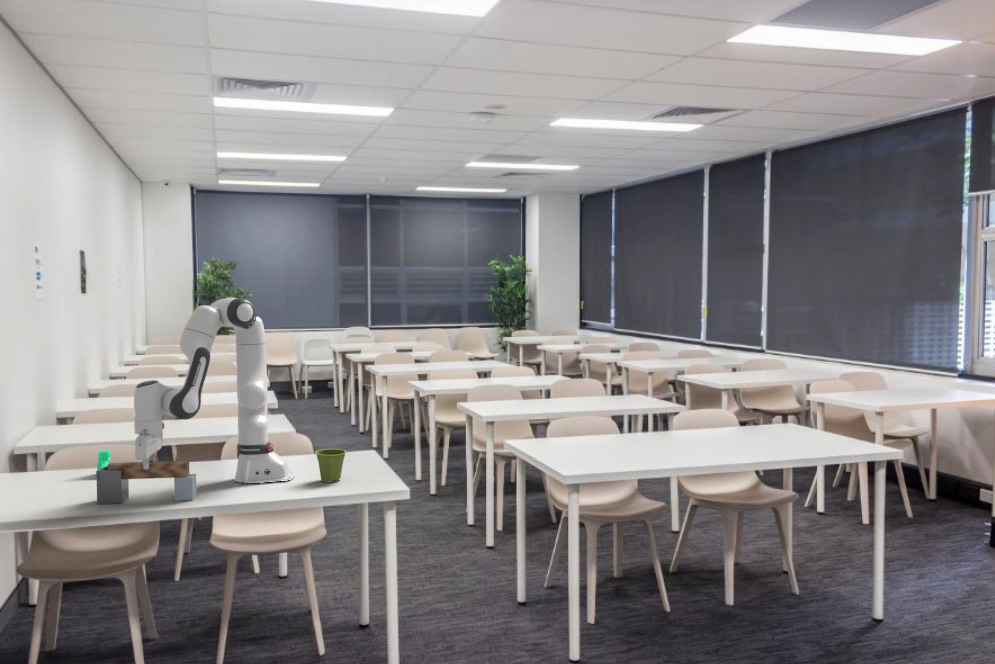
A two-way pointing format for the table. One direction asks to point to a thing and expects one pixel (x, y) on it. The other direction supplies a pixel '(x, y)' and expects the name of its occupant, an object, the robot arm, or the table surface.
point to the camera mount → (103, 458)
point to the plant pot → (330, 463)
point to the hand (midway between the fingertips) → (149, 467)
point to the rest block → (185, 488)
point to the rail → (152, 469)
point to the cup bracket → (111, 486)
